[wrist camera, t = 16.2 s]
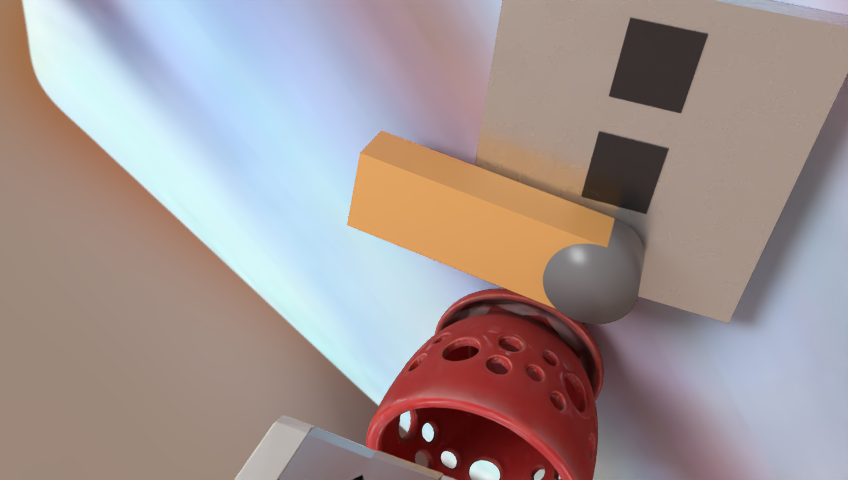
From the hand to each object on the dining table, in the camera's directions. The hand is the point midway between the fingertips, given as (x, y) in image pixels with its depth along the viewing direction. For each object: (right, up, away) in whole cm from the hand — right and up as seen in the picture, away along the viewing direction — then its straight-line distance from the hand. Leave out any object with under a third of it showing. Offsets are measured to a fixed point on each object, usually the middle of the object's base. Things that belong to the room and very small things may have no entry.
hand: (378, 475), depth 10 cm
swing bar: (+5, +5, +31) cm, 32 cm away
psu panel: (+12, +9, +29) cm, 32 cm away
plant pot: (+7, -4, +40) cm, 41 cm away
